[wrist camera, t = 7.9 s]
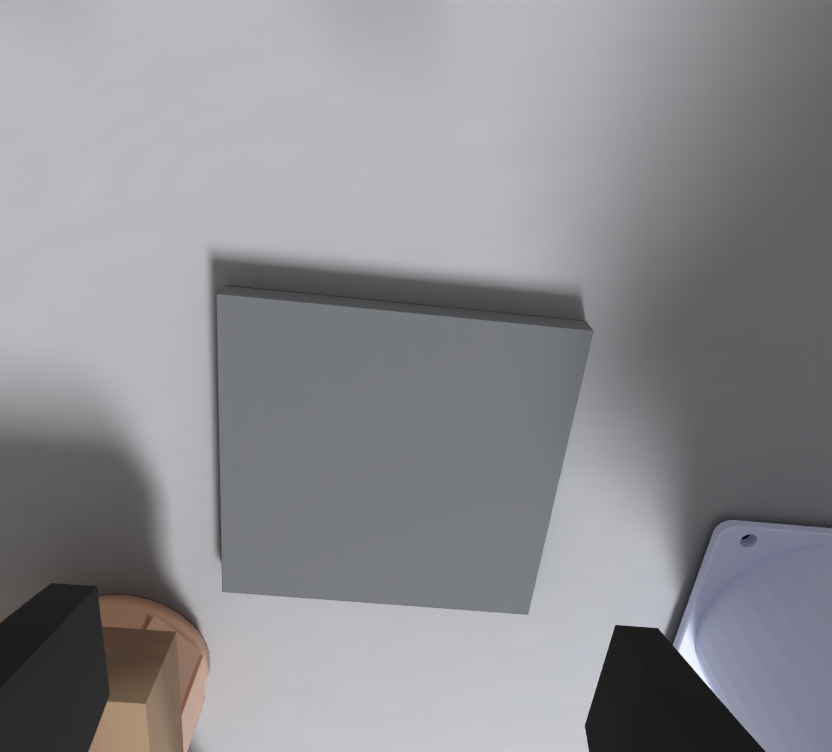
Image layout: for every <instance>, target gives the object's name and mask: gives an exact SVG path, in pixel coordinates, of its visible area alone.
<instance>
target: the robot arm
mask: <svg viewBox="0 0 832 752" xmlns="http://www.w3.org/2000/svg"><path fill="white" fill-rule="evenodd" d="M748 534H750V536H749V537H748V538H746V539H742V537H744V536H745V535H748ZM741 539H742V540H741ZM109 695H110V691H109V683H108V674H107V666H106V657H105V649H104V640H103V632H102V624H101V615H100V607H99V598H98V590H97V587H96V586H83V585H69V584H56V583H51V584H50V585H48V586H47V587H46V588H45V589H43V590H42V591H41V592H39V593H38V594H37V595H35V596H34V597H33V598H32V599H30V600H29V601H28V602H26V603H25V604H24V605H22V606H21V607H20V608H19V609H17V610H16V611H15V612H14V613H12V614H11V615H10V616H8V617H7V618H6V619H5V620H3V621H2V622H1V623H0V752H88V751H89V749H90V746H91V744H92V741H93V739H94V736H95V733H96V731H97V728H98V725H99V722H100V720H101V717H102V714H103V712H104V709H105V706H106V703H107V701H108V698H109ZM585 729H586V735H587V741H588V747H589V752H832V528H823V527H811V526H799V525H787V524H775V523H763V522H751V521H739V520H727V521H724V522H722V523H720V524H719V525H718V526H716V528H715V530H714V531H713V534H712V537H711V539H710V542H709V545H708V548H707V551H706V553H705V556H704V559H703V562H702V565H701V567H700V570H699V573H698V576H697V579H696V581H695V584H694V587H693V590H692V593H691V595H690V598H689V601H688V604H687V607H686V609H685V612H684V615H683V618H682V621H681V623H680V626H679V629H678V632H677V635H676V637H675V640H674V643H673V645H672V644H671V643H670V642H669V640H668V639H667V638H666V637H665V636H664V635H663V634H662V633H661V631H660V630H659V629H658V628H647V627H634V626H621V625H615V628H614V632H613V635H612V638H611V642H610V645H609V648H608V651H607V655H606V658H605V661H604V665H603V668H602V671H601V674H600V678H599V681H598V684H597V688H596V691H595V694H594V698H593V701H592V704H591V707H590V711H589V714H588V717H587V721H586V724H585Z"/></svg>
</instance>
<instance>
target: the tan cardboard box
mask: <svg viewBox="0 0 832 752" xmlns="http://www.w3.org/2000/svg"><path fill="white" fill-rule="evenodd" d="M2 621H3V619H0V623H1V622H2ZM102 632H103V640H104V649H105V657H106V666H107V674H108V683H109V691H110V695H109V698H108V701H107V703H106V706H105V709H104V712H103V714H102V717H101V720H100V722H99V725H98V728H97V731H96V733H95V736H94V739H93V741H92V744H91V746H90V749H89V751H88V752H184V750H183V733H182V716H181V700H180V683H179V666H178V650H177V633H176V632H175V631H161V630H146V629H132V628H118V627H103V626H102Z"/></svg>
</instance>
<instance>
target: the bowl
mask: <svg viewBox="0 0 832 752" xmlns="http://www.w3.org/2000/svg"><path fill="white" fill-rule="evenodd" d="M98 598H99V607H100V615H101V624H102V626H103V627H118V628H132V629H146V630H161V631H175V632H176V633H177V650H178V666H179V683H180V700H181V716H182V733H183V750H184V752H188V749H189V746H190V743H191V740H192V737H193V734H194V731H195V728H196V725H197V722H198V719H199V716H200V713H201V710H202V707H203V704H204V701H205V682H206V679H207V676H208V673H209V669H210V657H209V652H208V648H207V645H206V643H205V641H204V639H203V637H202V636H201V634H200V633H199V631H198V630H197V629H196V628H195V627H194V626H193V625H192V624H191V623H190V622H189V621H188V620H187V619H186V618H185V617H183V616H182V615H180V614H179V613H178V612H176V611H174V610H173V609H171V608H169V607H167V606H165V605H163V604H160V603H158V602H156V601H152V600H149V599H146V598H142V597H137V596H131V595H115V594H113V595H102V596H98Z"/></svg>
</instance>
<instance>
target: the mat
mask: <svg viewBox="0 0 832 752" xmlns="http://www.w3.org/2000/svg"><path fill="white" fill-rule="evenodd" d="M592 334H593V330H592V329H591V327H590V326H589V325H588V323H587V322H586V321H580V320H570V319H559V318H549V317H539V316H529V315H519V314H509V313H499V312H488V311H478V310H468V309H458V308H448V307H438V306H428V305H418V304H407V303H397V302H387V301H377V300H367V299H357V298H347V297H337V296H326V295H316V294H306V293H296V292H286V291H276V290H266V289H256V288H245V287H235V286H225V285H224V287H223V288H222V289H221V290H220V291H219V292H218V293H217V345H218V398H219V450H220V503H221V555H222V592H231V593H245V594H258V595H271V596H285V597H298V598H311V599H325V600H338V601H352V602H365V603H378V604H392V605H405V606H419V607H432V608H445V609H459V610H472V611H486V612H499V613H512V614H526V615H528V612H529V608H530V604H531V599H532V595H533V591H534V586H535V582H536V578H537V573H538V569H539V565H540V560H541V556H542V552H543V547H544V543H545V538H546V534H547V530H548V525H549V521H550V517H551V512H552V508H553V504H554V499H555V495H556V491H557V486H558V482H559V478H560V473H561V469H562V465H563V460H564V456H565V451H566V447H567V443H568V438H569V434H570V430H571V425H572V421H573V417H574V412H575V408H576V404H577V399H578V395H579V391H580V386H581V382H582V378H583V373H584V369H585V364H586V360H587V356H588V351H589V347H590V343H591V338H592Z"/></svg>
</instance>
